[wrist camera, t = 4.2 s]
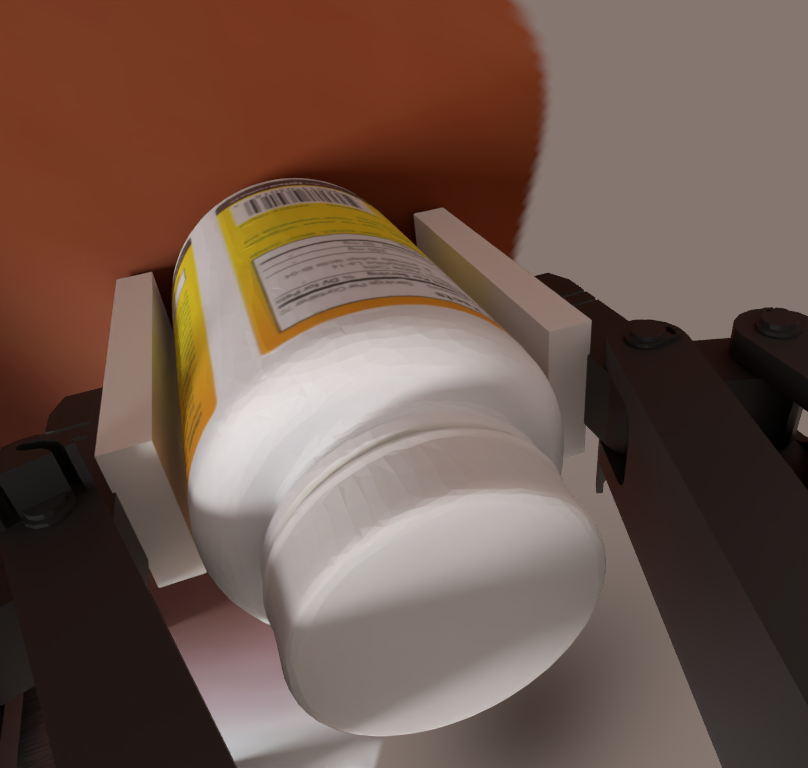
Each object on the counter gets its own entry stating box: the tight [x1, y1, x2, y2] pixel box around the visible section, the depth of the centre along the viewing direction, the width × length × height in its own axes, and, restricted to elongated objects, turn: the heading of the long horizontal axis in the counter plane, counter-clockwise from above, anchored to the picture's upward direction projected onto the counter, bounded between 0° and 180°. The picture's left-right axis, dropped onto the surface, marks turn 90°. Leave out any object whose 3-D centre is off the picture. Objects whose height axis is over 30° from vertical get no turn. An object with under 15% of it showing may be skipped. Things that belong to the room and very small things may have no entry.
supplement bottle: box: [172, 178, 606, 736], centre depth 11 cm, size 6×6×10 cm
